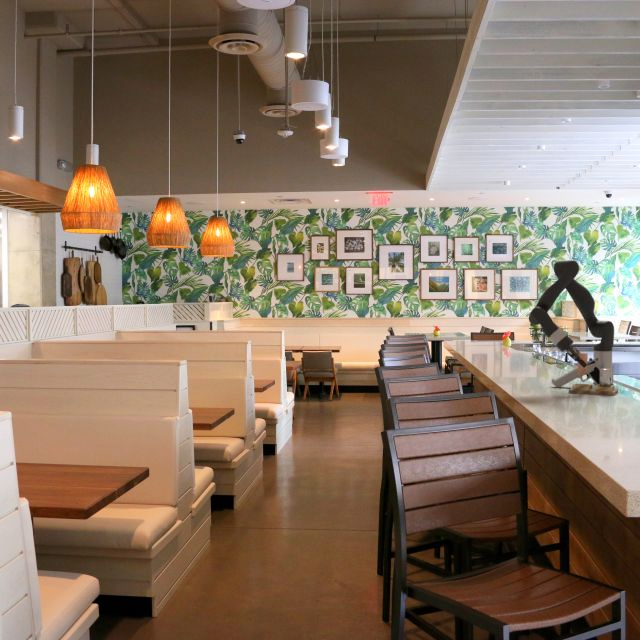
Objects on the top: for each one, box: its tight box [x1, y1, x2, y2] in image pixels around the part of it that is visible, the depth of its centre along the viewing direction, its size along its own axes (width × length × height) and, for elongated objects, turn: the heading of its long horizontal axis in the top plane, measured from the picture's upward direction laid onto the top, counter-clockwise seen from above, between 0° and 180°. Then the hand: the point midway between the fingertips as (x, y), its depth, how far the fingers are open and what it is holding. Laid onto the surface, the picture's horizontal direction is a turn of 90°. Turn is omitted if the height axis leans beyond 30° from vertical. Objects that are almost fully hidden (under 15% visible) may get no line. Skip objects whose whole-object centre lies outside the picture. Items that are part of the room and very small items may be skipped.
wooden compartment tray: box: [568, 383, 619, 396], centre depth 350 cm, size 20×13×4 cm, turn 59°
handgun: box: [551, 357, 611, 388], centre depth 373 cm, size 4×28×15 cm, turn 85°
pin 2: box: [600, 369, 611, 387], centre depth 347 cm, size 4×4×10 cm
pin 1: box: [577, 352, 589, 376], centre depth 352 cm, size 4×4×10 cm
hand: (586, 365), depth 351 cm, fingers closed on pin 1, 4 cm apart
